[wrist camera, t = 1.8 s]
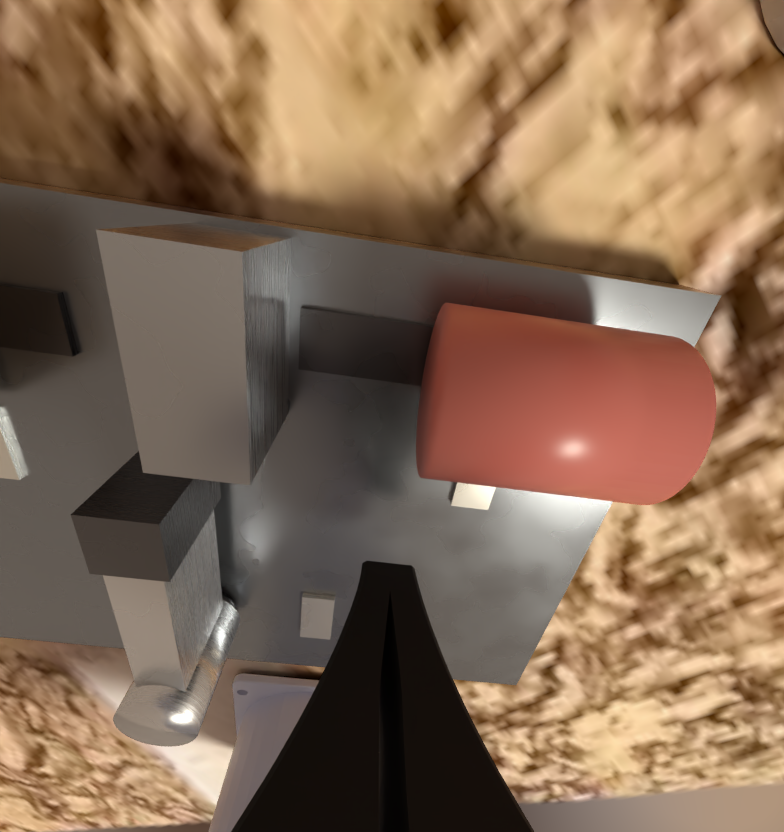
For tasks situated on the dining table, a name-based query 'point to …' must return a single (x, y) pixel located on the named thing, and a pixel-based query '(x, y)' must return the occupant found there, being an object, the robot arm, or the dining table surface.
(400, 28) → the dining table surface
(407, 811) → the robot arm
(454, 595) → the panel
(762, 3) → the coffee cup
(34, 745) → the dining table surface
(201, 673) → the lever
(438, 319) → the red short cylinder
